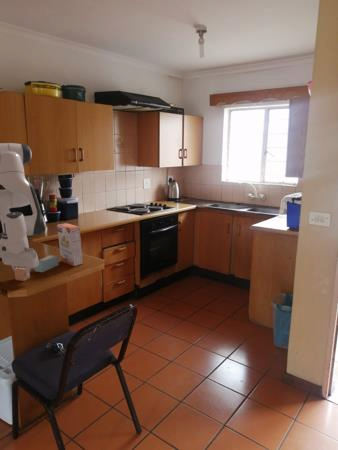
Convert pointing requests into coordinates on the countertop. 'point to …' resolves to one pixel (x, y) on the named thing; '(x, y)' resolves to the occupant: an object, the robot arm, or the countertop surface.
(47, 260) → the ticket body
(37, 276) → the countertop surface
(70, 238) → the cracker box
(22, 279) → the block
